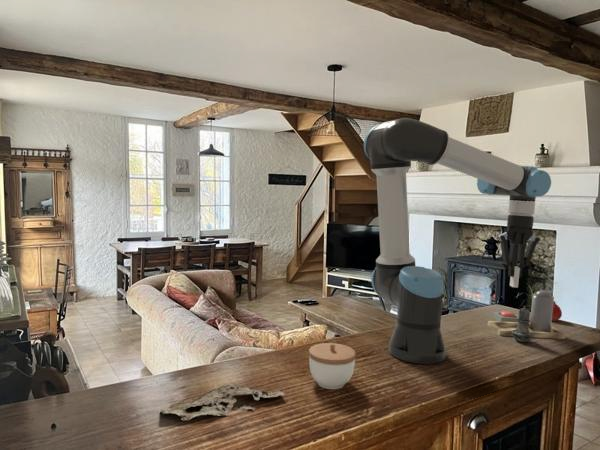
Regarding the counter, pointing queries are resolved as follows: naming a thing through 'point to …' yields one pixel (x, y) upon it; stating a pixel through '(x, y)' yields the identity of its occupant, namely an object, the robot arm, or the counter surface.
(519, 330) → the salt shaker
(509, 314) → the button
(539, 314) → the pepper pot
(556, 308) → the onion
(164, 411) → the driftwood
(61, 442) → the counter surface
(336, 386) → the lidded jar
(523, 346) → the counter surface
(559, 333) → the tray
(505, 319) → the grey-green square box
